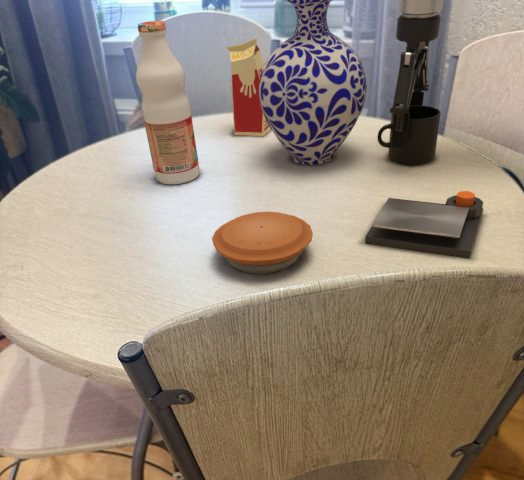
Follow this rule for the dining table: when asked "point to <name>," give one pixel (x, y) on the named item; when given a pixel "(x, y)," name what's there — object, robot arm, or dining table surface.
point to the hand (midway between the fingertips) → (406, 135)
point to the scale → (433, 242)
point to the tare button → (465, 199)
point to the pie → (262, 241)
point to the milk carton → (247, 89)
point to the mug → (415, 136)
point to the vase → (312, 87)
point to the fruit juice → (165, 108)
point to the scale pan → (422, 218)
